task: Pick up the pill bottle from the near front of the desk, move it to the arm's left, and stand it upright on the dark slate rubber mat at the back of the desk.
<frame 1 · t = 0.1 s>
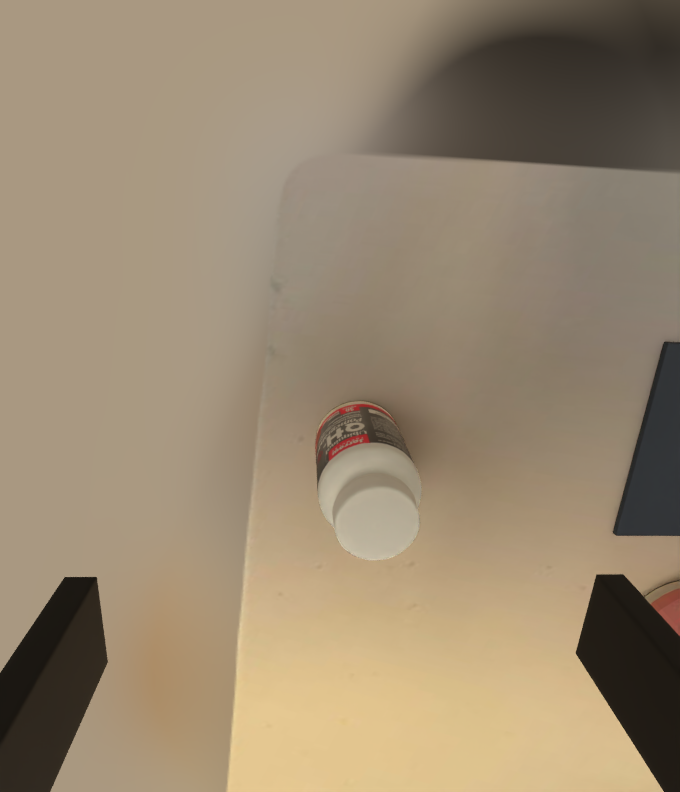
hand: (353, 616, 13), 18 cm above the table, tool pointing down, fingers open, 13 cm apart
pill bottle: (356, 437, 32), on the table
container: (672, 618, 39), on the table
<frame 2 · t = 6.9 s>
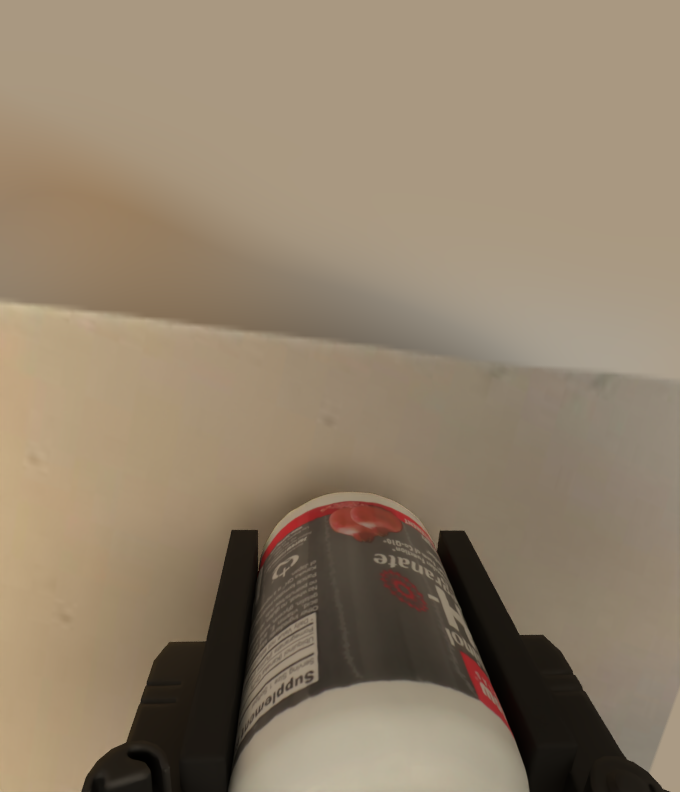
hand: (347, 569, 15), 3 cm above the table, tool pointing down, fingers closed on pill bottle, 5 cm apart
pill bottle: (346, 557, 15), point 3 cm above the table, touching gripper
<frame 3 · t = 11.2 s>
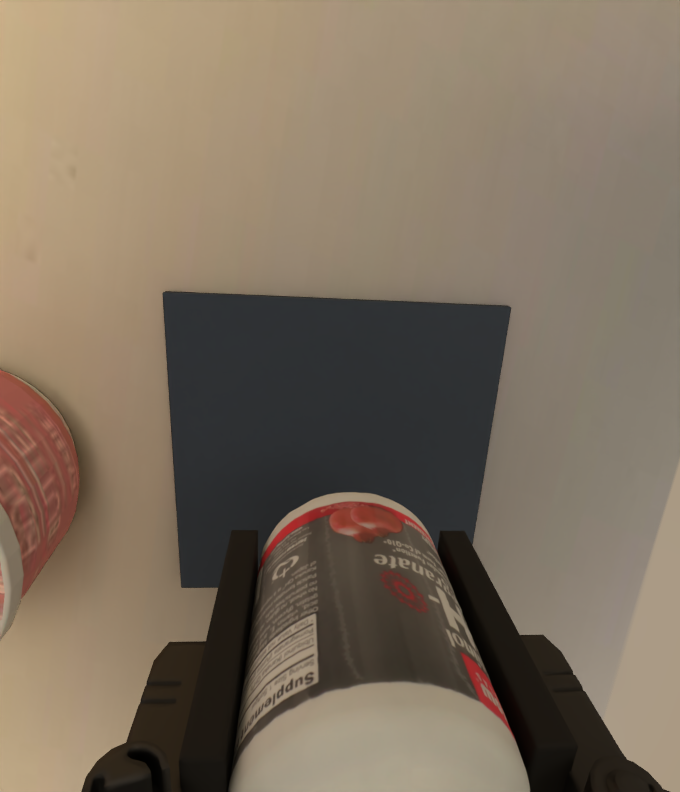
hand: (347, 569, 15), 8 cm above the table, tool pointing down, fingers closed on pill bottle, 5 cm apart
mat: (333, 454, 22), on the table
pill bottle: (346, 557, 15), point 7 cm above the table, touching gripper
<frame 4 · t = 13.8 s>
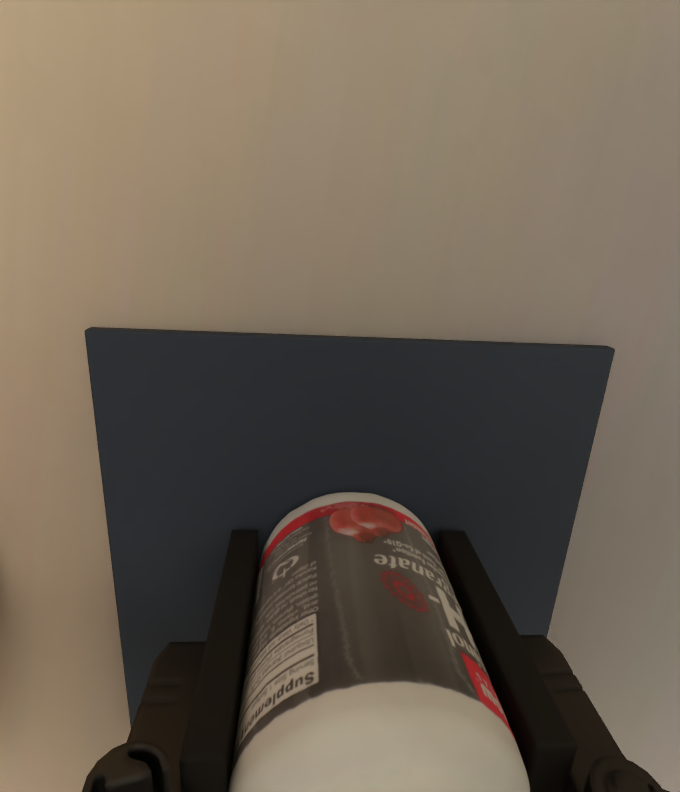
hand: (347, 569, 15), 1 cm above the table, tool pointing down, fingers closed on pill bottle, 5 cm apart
mat: (345, 555, 16), on the table
pill bottle: (346, 557, 15), resting on mat, touching gripper
when the fingers open (1 cm above the table, at t = 15.9 s): pill bottle stays where it is, resting on mat.
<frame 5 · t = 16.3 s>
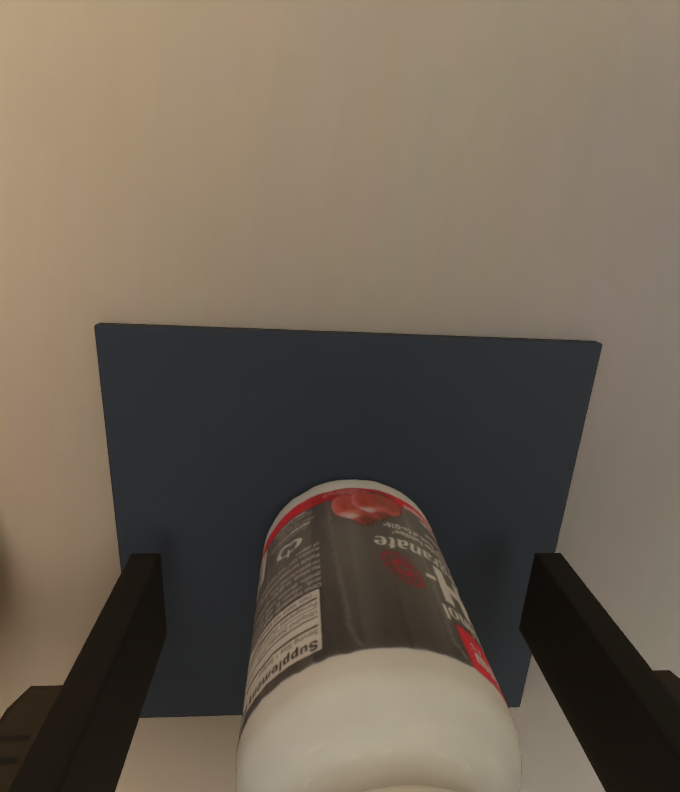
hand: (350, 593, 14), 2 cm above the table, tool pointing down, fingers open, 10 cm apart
mat: (344, 543, 16), on the table
pill bottle: (347, 544, 16), resting on mat
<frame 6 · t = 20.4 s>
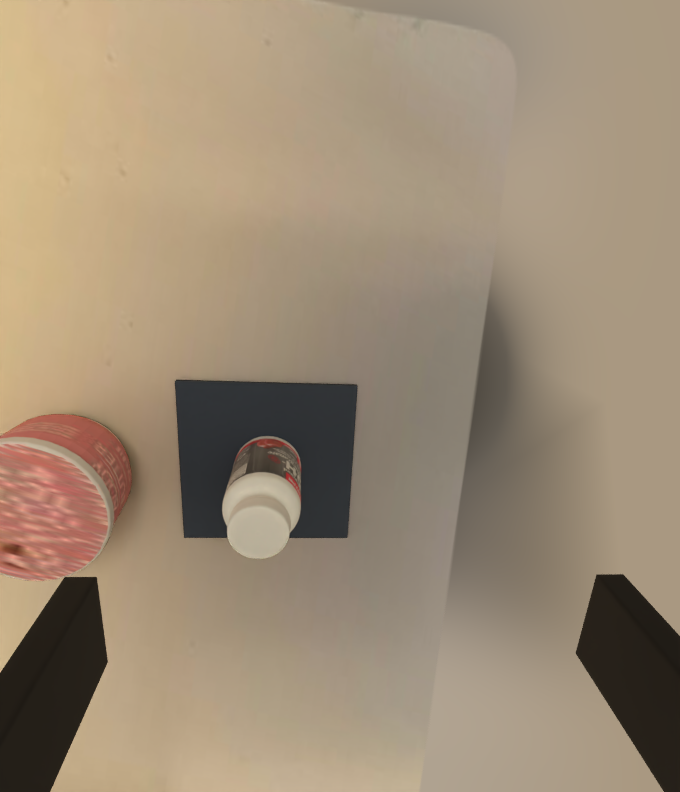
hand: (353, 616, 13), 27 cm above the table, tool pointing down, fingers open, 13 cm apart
mat: (267, 462, 41), on the table
pill bottle: (268, 462, 41), resting on mat
container: (79, 459, 40), on the table
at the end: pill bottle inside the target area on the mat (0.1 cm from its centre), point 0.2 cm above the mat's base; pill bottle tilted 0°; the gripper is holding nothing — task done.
